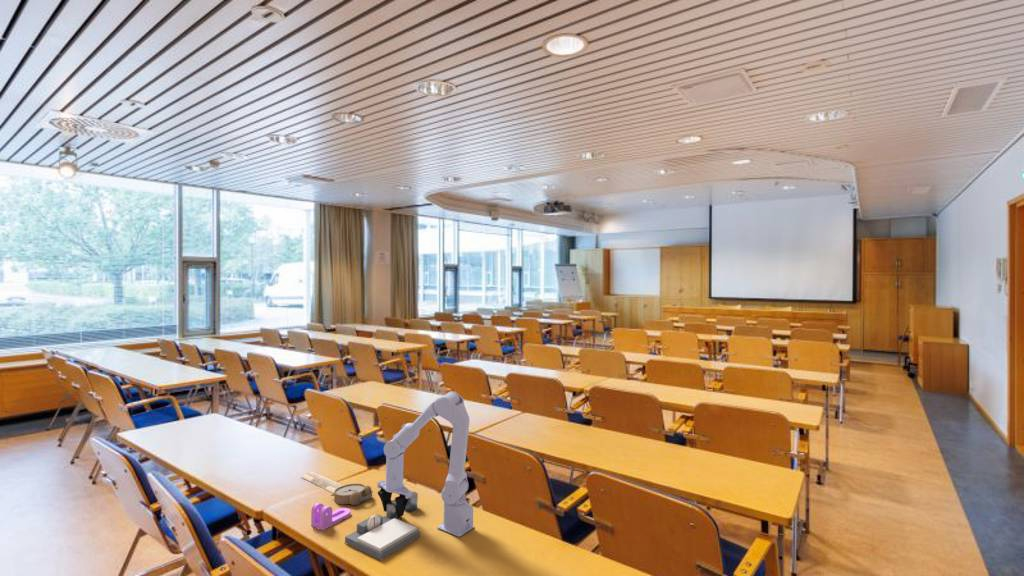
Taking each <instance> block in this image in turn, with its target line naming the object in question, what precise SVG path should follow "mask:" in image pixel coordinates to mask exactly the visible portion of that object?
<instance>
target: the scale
mask: <svg viewBox="0 0 1024 576" xmlns="http://www.w3.org/2000/svg"><path fill="white" fill-rule="evenodd" d="M420 535H421V531H420V530H419V529H417V526H415V525H412V524H410V523H407V522H404V521H402V520H400V519H399V520H398V519H395V518H394V519H390V518H388V517H386V516H382V515H380V514H377V513H376V514H374V515H372V516H370V517H368V518H366V519H364V520H362V521H360V522H359V523H357V524H356V530H355V531H352V533H350V534H347V535H345V537H344V544H346V543H347V544H346V545H348V544H349V545H348V546H350V545H351V546H350V547H352V546H353V548H354V549H356V550H359V551H360V552H363V553H364V554H366V555H369V556H370V557H373V558H374V559H377V560H379V561H383V560H384V559H386V558H388V557H389V556H391V555H392V554H394V553H395V552H397V551H398V550H401V549H403V548H404V547H405V546H407V545H409V544H411V543H413V542H414V541H415V540H417V539H419V538H420V537H421V536H420Z"/></svg>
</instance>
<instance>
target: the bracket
mask: <svg viewBox="0 0 1024 576" xmlns="http://www.w3.org/2000/svg"><path fill="white" fill-rule="evenodd" d="M351 515H352V514H351V509H350V508H348V507H341V508H337V509H335V510H333V508H332V507H331V506H329V505H325V506H324V504H323V503H321V502H316V503H314V504H313V505H312V507H311V518H310V519H311V520H310V521H311V523H310V526H311V527H312V528H313V527H314V528H315V527H316V529H318V528H319V529H318V530H320V529H321V530H320V531H322V530H323V531H324V529H325V530H326V528H327V529H328V527H329V528H330V527H332V526H334V525H336V524H338V523H340V522H342V521H344V520H346V519H348V518H349V517H351ZM345 518H346V519H345ZM343 519H344V520H343Z"/></svg>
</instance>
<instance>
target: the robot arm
mask: <svg viewBox="0 0 1024 576" xmlns="http://www.w3.org/2000/svg"><path fill="white" fill-rule="evenodd" d="M435 417H440V418H442V419H444V420H446V421H447V422H449V423H450V424H451V425H452V433H451V434H452V435H451V445H450V456H449V467H448V474H447V475H446V479H445V481H444V486H443V488H442V490H441V491H440V492H441V493H440V495H441V499H442V502H443V523H441V524H440V525H438V526H437V529H439V530H441V531H443V532H446V533H449V534H451V535H454V536H456V537H458V538H460V537H462V536H464V535H465V534H466V533H468V532H469V531H471V530H472V529H474V528H475V525H474V508H473V505H471V504H469V502H467V496H466V493H467V492H468V490H469V481H468V474H467V472H466V471H465V470H466V460H467V449H468V441H469V439H468V438H469V432H470V431H469V427H470V417H469V414H468V412H467V409H466V406H465V399H464V398H463V397H462V396H461V395H460V394H459V393H458V392H456V391H452V390H451V391H449V392H447V393H446V394H444V395H442V396H441V397H438V398H437V399H435V400H434V402H432V403H430V404H429V405H428V406H427V407H426V408H425V409H424V410H423V411H422V413H421V414H420V415H418V417H417V418H416V419H415V420H414V421H413V422H407V423H403V425H401V428H400V430H399V431H398V432H396V433H395V434H393V435H392V439H391V440H388V441H386V443H385V444H384V445H383V455H384V456H385V460H386V462H385V463H386V464H385V480H380V481H378V482H377V488H378V489H380V490H378V491H377V495H378V497H379V498H380V501H381V503H382V504H381V505H382V508H383V512H387V502H388V501H391V500H392V495H393V494H397V495H398V496H396V497H394V500H395V501H396V505H397V516H398V517H401V518H402V517H403V516H404V514H405V512H406V511H405V508H406V505H407V503H408V501H409V499H410V497H412V492H413V491H412V490H410V489H408V488H407V487H406V486H405V483H404V456H405V452H406V451H407V448H408V447H409V446H410V445H411V444H412V443H414V441H415V440H416V439H417V438H419V436H420V430H421V429H422V428H423V427H424V426H425V425H426V424H428V422H430V421H431V420H432V419H433V418H435Z"/></svg>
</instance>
